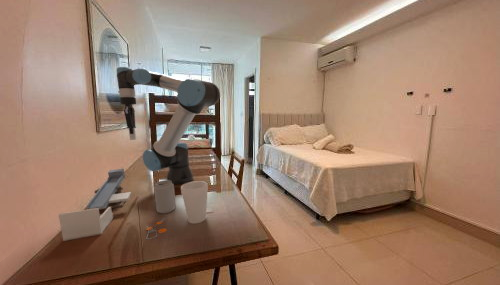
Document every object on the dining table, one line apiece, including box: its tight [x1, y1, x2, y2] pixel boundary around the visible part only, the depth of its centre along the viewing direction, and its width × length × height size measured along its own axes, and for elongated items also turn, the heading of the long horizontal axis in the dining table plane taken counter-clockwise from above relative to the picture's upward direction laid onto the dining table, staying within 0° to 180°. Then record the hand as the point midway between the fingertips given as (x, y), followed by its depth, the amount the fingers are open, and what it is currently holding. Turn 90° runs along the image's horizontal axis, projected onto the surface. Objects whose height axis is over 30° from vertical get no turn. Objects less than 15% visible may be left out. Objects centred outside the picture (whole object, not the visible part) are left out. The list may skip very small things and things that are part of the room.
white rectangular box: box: [58, 207, 114, 242], centre depth 72 cm, size 12×11×9 cm
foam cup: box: [180, 180, 209, 224], centre depth 75 cm, size 10×9×13 cm
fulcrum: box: [94, 185, 127, 211], centre depth 92 cm, size 8×11×8 cm
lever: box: [86, 168, 132, 210], centre depth 92 cm, size 28×13×4 cm, turn 17°
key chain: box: [145, 217, 167, 240], centre depth 71 cm, size 13×7×1 cm, turn 22°
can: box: [153, 179, 177, 215], centre depth 84 cm, size 8×8×12 cm
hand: (133, 139), depth 116 cm, fingers closed
